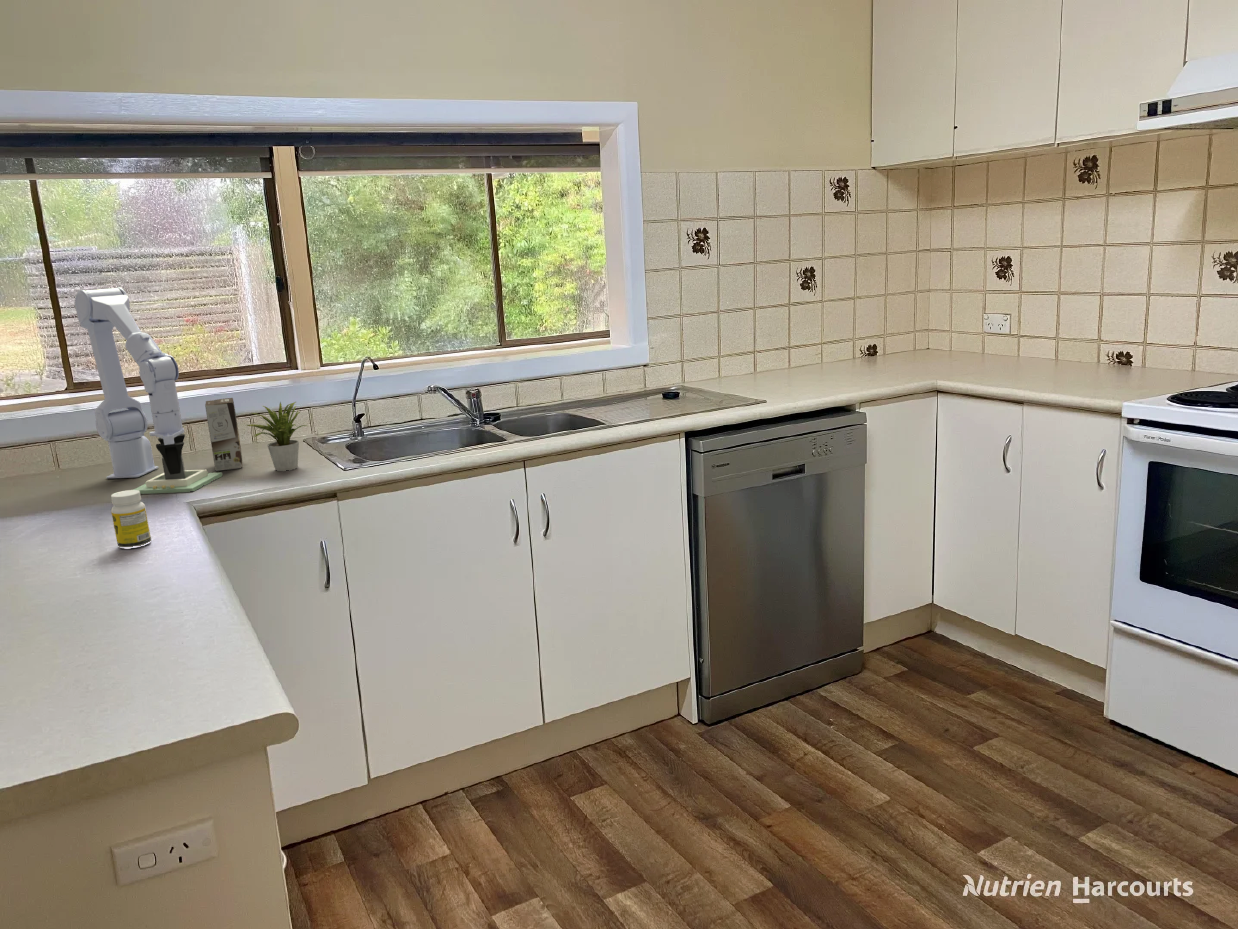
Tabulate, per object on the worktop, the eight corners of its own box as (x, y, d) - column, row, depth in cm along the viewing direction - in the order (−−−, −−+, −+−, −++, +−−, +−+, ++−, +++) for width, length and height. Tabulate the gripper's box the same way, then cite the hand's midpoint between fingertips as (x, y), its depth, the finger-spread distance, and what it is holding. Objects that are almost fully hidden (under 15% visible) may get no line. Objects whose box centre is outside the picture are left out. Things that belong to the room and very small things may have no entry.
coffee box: (243, 468, 227) (233, 402, 223) (214, 471, 225) (204, 405, 221) (243, 460, 235) (233, 396, 231) (215, 464, 233) (205, 399, 229)
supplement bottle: (120, 543, 172) (110, 491, 169) (153, 538, 174) (144, 487, 171) (116, 552, 167) (106, 499, 164) (150, 547, 169) (140, 494, 166)
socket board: (164, 478, 221) (163, 469, 220) (222, 475, 220) (221, 466, 220) (131, 494, 207) (129, 484, 207) (193, 491, 207) (191, 482, 206)
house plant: (272, 461, 233) (263, 395, 229) (326, 459, 231) (317, 393, 227) (244, 475, 219) (234, 406, 215) (302, 474, 217) (292, 404, 214)
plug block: (166, 480, 215) (162, 455, 213) (186, 478, 216) (181, 452, 215) (166, 484, 211) (161, 458, 210) (185, 482, 212) (181, 456, 211)
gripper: (147, 408, 215) (157, 466, 218) (144, 418, 202) (154, 479, 205) (181, 404, 217) (191, 462, 221) (179, 414, 204) (190, 474, 208)
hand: (175, 470), depth 213 cm, fingers open, 7 cm apart
